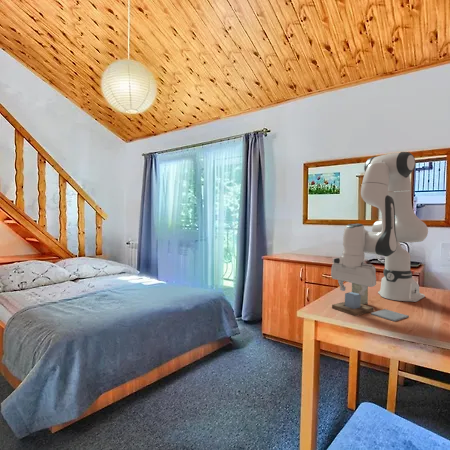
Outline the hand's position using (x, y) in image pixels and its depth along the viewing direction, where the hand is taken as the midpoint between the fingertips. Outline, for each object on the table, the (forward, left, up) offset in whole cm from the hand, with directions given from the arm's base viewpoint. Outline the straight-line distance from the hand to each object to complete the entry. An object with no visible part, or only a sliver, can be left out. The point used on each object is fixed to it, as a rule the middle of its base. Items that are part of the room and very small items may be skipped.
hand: (352, 292), depth 134 cm
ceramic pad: (-7, +13, -7) cm, 16 cm away
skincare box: (-13, -5, -8) cm, 16 cm away
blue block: (-1, 0, -8) cm, 8 cm away
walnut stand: (-1, 0, -7) cm, 7 cm away
